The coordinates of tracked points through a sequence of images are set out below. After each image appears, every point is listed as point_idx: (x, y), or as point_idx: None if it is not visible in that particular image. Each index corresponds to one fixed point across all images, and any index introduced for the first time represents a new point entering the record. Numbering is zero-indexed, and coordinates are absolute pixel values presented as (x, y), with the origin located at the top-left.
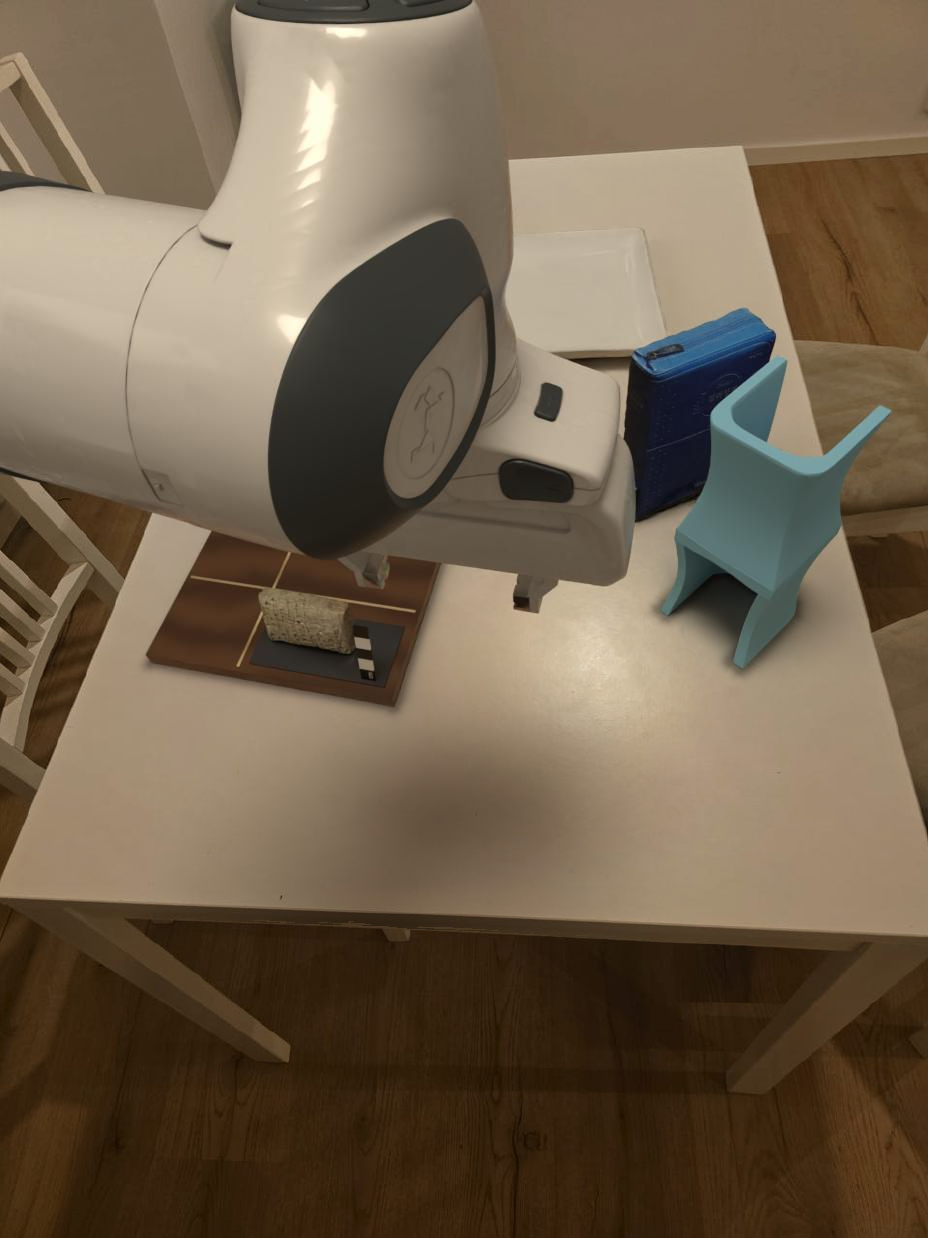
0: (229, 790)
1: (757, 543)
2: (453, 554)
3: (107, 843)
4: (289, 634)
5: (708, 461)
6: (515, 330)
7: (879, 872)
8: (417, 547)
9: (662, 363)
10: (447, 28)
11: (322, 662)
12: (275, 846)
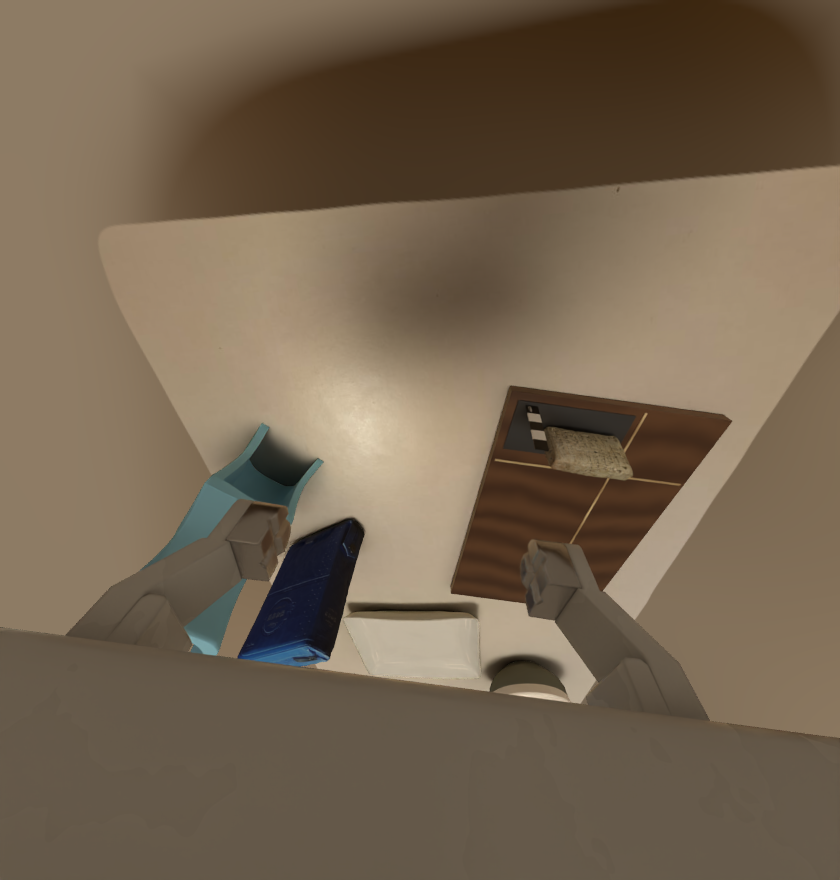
0: (662, 300)
1: (209, 522)
2: (301, 752)
3: (801, 231)
4: (601, 441)
5: (300, 559)
6: (438, 628)
7: (131, 272)
8: (425, 787)
9: (304, 652)
10: None
11: (570, 418)
12: (620, 245)
